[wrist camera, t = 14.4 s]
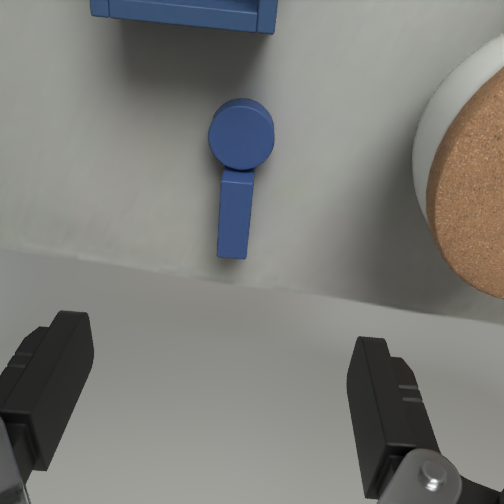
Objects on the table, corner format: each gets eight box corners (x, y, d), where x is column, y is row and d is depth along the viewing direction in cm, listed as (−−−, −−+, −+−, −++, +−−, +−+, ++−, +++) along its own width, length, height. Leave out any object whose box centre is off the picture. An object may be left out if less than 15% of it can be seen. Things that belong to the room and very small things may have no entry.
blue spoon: (261, 238, 27) (260, 261, 25) (206, 233, 27) (201, 256, 25) (277, 101, 22) (278, 115, 20) (212, 94, 22) (206, 108, 20)
